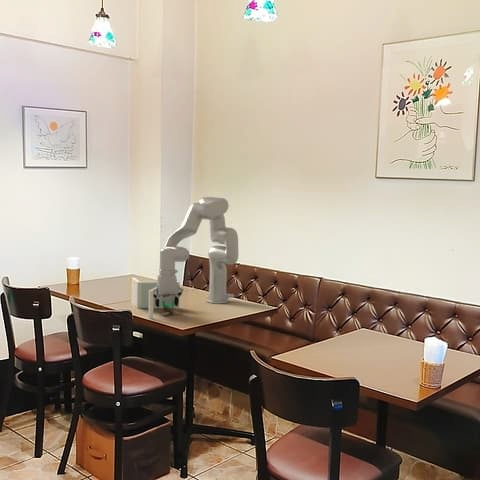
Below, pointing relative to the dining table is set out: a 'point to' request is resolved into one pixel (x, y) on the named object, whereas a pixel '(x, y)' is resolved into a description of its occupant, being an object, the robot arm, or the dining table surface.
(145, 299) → the door
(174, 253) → the robot arm
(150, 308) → the door frame
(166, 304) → the food container
